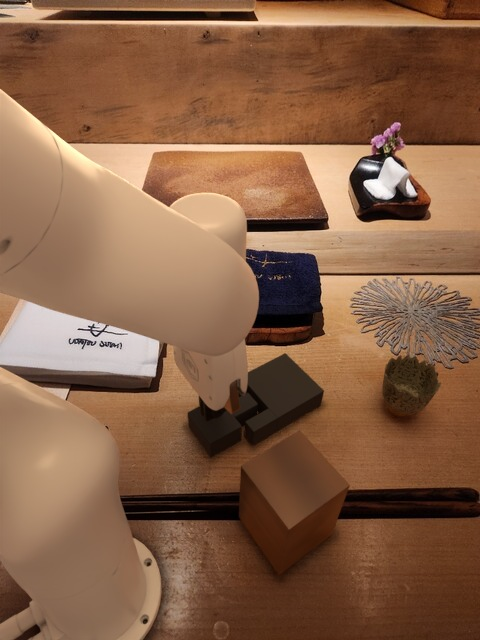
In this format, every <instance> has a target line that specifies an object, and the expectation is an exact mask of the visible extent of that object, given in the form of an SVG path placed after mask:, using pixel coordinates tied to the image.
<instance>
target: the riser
mask: <svg viewBox="0 0 480 640" xmlns="http://www.w3.org/2000/svg"><path fill="white" fill-rule="evenodd" d="M239 475H240V477H239V480H240V481H239V499H238V500H239V501H238V502H239V503H238V518H239V520H240V522H241V524H243V526H244V527H245V529H246V530H247V531H248V533H249V535H250V536H251V537H252V539H253V540H254V542H255V544H257V546H258V548H259V549H260V550H261V552H262V553H263V555H264V556H265V558H266V559H267V561H268V562H269V563H270V565H271V566H272V568H273V569H274V571H275V573H276V574H277V575H278V576H281V575H282V574H283V573H285V572H286V571H287V570H288V569H290V568H292V566H293V565H295V564H296V563H298V562H299V561H300V560H301V559H303V558H304V557H305V556H307V555H308V554H309V553H311V551H313V550H314V549H316V548H317V547H318V546H320V545H321V544H322V543H323V542H325V541H326V540H327V539H328V538H330V537H331V536H332V535H333V532H334V529H335V527H336V524H337V521H338V518H339V517H340V514H341V511H342V509H343V508H342V507H343V505H344V503H345V500H346V497H347V495H348V492H349V488H350V486H351V485H350V483H348V481H347V480H346V479H345V478H344V477H343V476H342V474H340V472H339V471H338V470H337V469H336V468H335V467H334V466H333V465H332V463H330V462H329V460H328V459H327V458H326V457H325V456H324V455H323V454H322V453H321V452H320V450H319V449H318V448H317V446H315V445H314V444H313V443H312V442H311V441H310V439H309V438H308V437H307V436H306V435H305V434H304V433H303V432H302V431H301V430H300V429H297V430H296V431H295V432H293V433H291V434H290V435H288V436H287V437H285V438H284V439H281V440H280V441H279V442H277V443H275V444H274V445H272V446H270V447H268V448H267V449H265V450H264V451H263V452H261V453H259V454H258V455H256V456H254V457H253V458H251V459H249V460H248V461H246V462H245V463H243V464H241V465H240V474H239Z"/></svg>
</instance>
